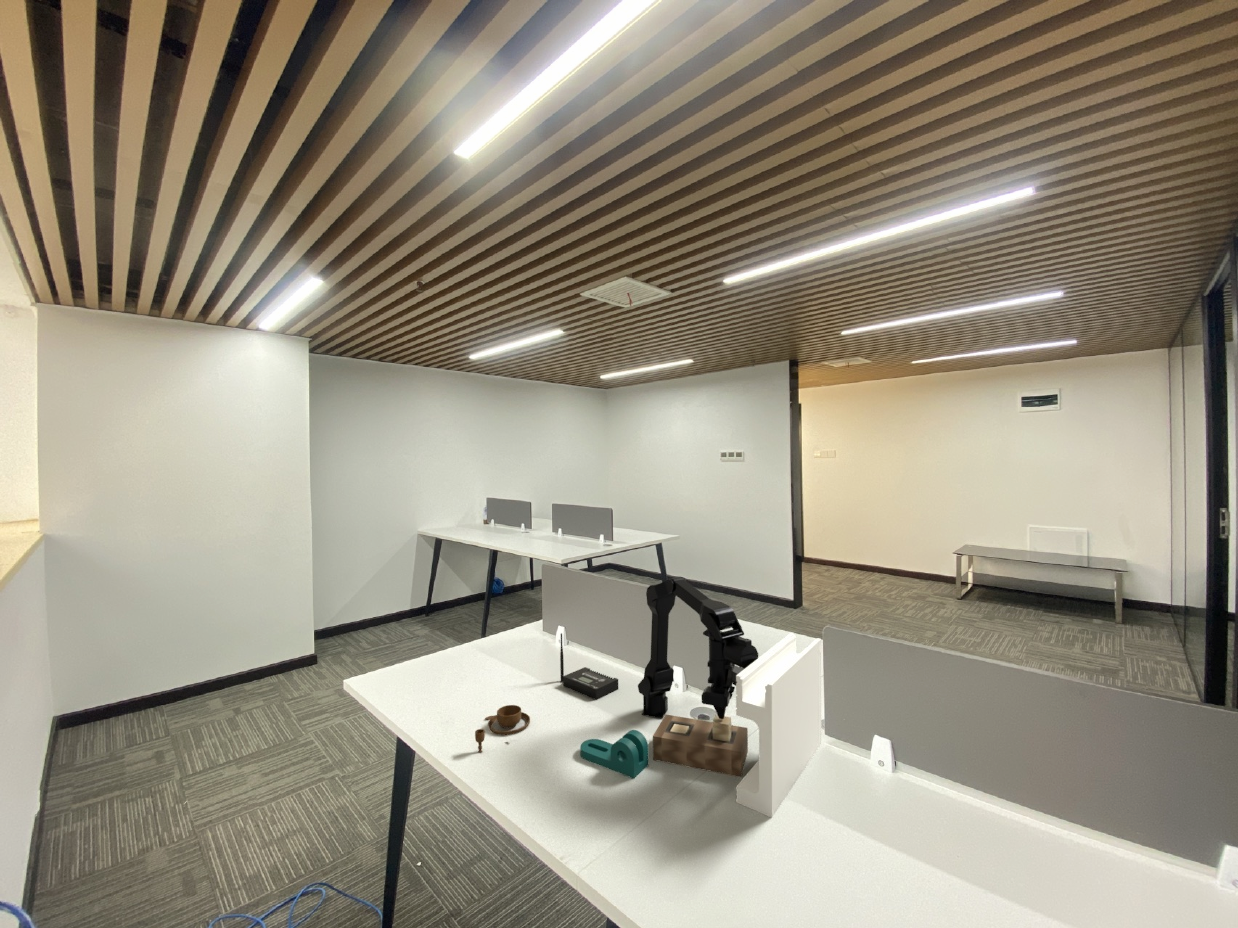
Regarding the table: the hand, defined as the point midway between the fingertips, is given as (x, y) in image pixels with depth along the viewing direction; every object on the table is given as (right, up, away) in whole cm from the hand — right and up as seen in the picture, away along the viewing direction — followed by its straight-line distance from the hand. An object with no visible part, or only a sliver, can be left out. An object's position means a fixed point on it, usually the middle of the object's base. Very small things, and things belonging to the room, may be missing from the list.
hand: (721, 718), depth 129 cm
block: (+14, -10, -5) cm, 18 cm away
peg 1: (-10, -11, +4) cm, 15 cm away
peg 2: (0, -6, 0) cm, 6 cm away
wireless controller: (-37, -12, +45) cm, 59 cm away
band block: (-5, -10, +2) cm, 12 cm away
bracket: (-28, -11, +1) cm, 30 cm away
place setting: (-61, -12, +16) cm, 64 cm away
